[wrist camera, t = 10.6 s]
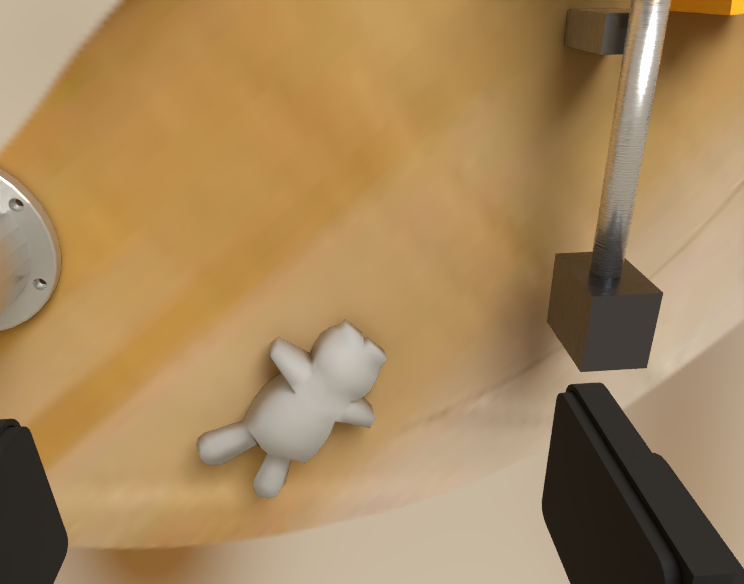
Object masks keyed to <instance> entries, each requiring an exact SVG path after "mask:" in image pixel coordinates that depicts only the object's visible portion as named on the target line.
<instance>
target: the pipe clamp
mask: <svg viewBox="0 0 744 584" xmlns="http://www.w3.org/2000/svg"><path fill="white" fill-rule="evenodd" d="M670 11H679V12H692V13H706V14H720V15H736V14H743V13H744V0H671V6H670Z"/></svg>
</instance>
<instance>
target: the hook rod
mask: <svg viewBox="0 0 744 584" xmlns="http://www.w3.org/2000/svg"><path fill="white" fill-rule="evenodd" d="M670 6H671V0H632V1H631V7H630V13H629V20H628V26H627V33H626V39H625V46H624V52H623V59H622V65H621V72H620V78H619V84H618V91H617V97H616V104H615V110H614V117H613V123H612V130H611V136H610V142H609V149H608V155H607V162H606V168H605V175H604V181H603V188H602V194H601V200H600V207H599V213H598V220H597V226H596V233H595V239H594V246H593V252H580V253H560V254H555V262H554V270H553V278H552V286H551V294H550V302H549V310H548V318H547V322H548V324H549V325H550V327H551V328H552V330H553V331H554V333H555V334H556V336H557V337H558V339H559V340H560V342H561V343H562V345H563V346H564V348H565V349H566V351H567V352H568V354H569V355H570V357H571V358H572V360H573V361H574V363H575V364H576V366H577V367H578V369H579V370H580V372H588V371H605V370H621V369H638V368H647V364H648V360H649V355H650V350H651V346H652V341H653V337H654V332H655V328H656V323H657V319H658V314H659V310H660V305H661V300H662V296H663V292H662V291H661V290H659V289H658V288H657V287H656V286H655V285H654V284H653V283H652V282H651V281H650V280H648V279H647V278H646V277H645V276H644V275H643V274H642V273H641V272H640V271H638V270H637V269H636V268H635V267H634V266H633V265H632V264H631V263H630V262H629V261H627V260H626V259H625V253H626V247H627V242H628V236H629V231H630V225H631V220H632V214H633V209H634V203H635V198H636V193H637V187H638V182H639V176H640V171H641V165H642V160H643V154H644V149H645V143H646V138H647V132H648V127H649V121H650V116H651V110H652V105H653V99H654V94H655V88H656V83H657V77H658V72H659V66H660V61H661V55H662V50H663V44H664V39H665V33H666V28H667V22H668V17H669V11H670Z"/></svg>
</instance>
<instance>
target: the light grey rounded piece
mask: <svg viewBox="0 0 744 584" xmlns="http://www.w3.org/2000/svg"><path fill="white" fill-rule="evenodd" d="M270 357H271V359H272V360H273V361H274V363H275V364H276V366H277V367H278V369H279V370H280V371H281V373H279V374H278V375H277V376H275V377H274V378H273V379H272V380H270V381H269V382H268V383H267V384H266V385H265V386H264V387H263V388H262V389H261V391H260V392H259V393H258V394H257V396H256V397H255V399H254V401H253V403H252V405H251V407H250V409H249V410H248V412H247V414H246V416H245V418H244V420H243V421H240V422H237V423H234V424H231V425H228V426H224V427H221V428H218V429H215V430H212V431H209V432H206V433H204V434H203V435H201V436H200V437H199V438H198V441H197V449H198V452H199V455H200V458H201V459H202V461H203V462H204V463H205V464H208V465H214V466H216V465H220V464H224V463H226V462H227V461H229V460H231V459H233V458H234V457H236V456H238V455H240V454H241V453H243V452H245V451H247V450H248V449H250V448H252V447H253V446H255V445H258V446H259V447H260V448H262V449H263V450H264V451H265V452H266V453H267V456H266V458H265V460H264V462H263V464H262V466H261V468H260V470H259V471H258V473H257V475H256V477H255V479H254V481H253V489H254V491H255V492H256V494H257V495H259V496H260V497H263V498H267V499H269V498H272V497H275V496H276V495H277V494H278V492H279V491H280V489H281V488H282V486H283V485H284V484H285V482H286V478H287V474H288V470H289V466H290V462H291V460H295V461H299V462H303V463H305V462H306V461H307V460H309V459H310V458H311V457H313V456H314V455H315V454H316V452H317V451H318V450H319V449H320V448H321V447H322V445H323V444H324V442H325V441H326V440H327V438H328V437H329V435H330V432H331V430H332V428H333V425H334V423H335V421H337V422H343V423H348V424H353V425H358V426H362V427H367V428H370V426H371V425H372V424H373V422H374V421H375V420H376V419H375V416H374V412H373V408H372V405H371V404H370V403H369V402H368V401H367V400H366V399H365V398H364V397H363V396H364V395H365V394H367V393H368V392H369V391H370V390H371V388H372V386H373V385H374V383H375V381H376V379H377V376H378V374H379V371H380V368H381V366H382V364H383V363H384V362H385V361H386V360H387V358H386V355H385V352H384V350H383V349H382V348H381V347H380V346H378V345H377V344H376V343H375V342H373V341H372V340H371V339H369V338H365V339H363V336H362V333H361V331H359V330H358V329H357V328H356V327H354V326H353V325H352V324H350V323H349V322H348V321H347V320H344V321H343V322H342V323H341V324H340V325H338V326H334V327H330V328H328V329H326V330H325V331H323V332H322V333H321V334H320V335H319V337H318V338H317V340H316V341H315V343H314V346H313V349H312V352H311V354H310V353H308V352H306V351H305V350H303V349H301V348H299V347H297V346H295V345H293V344H291V343H289V342H287V341H285V340H284V339H282V338H280V337H278V338H276V339H275V340H274V341H273V342H271V351H270Z"/></svg>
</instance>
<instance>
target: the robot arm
mask: <svg viewBox="0 0 744 584" xmlns="http://www.w3.org/2000/svg"><path fill="white" fill-rule="evenodd" d="M19 200H20V201H22V203H23V204H22V203H20V202H19ZM60 272H61V252H60V246H59V240H58V237H57V235H56V232H55V229H54V227H53V224H52V222H51V220H50V219H49V217H48V215H47V214H46V212H45V210H44V209H43V207H42V206H41V204H40V203H39V202H38V201H37V200H36V199H35V197H34V196H33V195H32V194H31V193H30V192H29V190H27V189H26V188H25V187H24V186H23V185H22V184H20V183H19V182H18V181H17V180H16V179H15V178H13V177H12V176H11V175H9V174H8V173H6V172H5V171H3V170H1V169H0V331H2V330H6V329H10V328H13V327H15V326H17V325H19V324H21V323H23V322H25V321H27V320H28V319H30V318H31V317H32V316H33V315H34V314H36V313H37V312H38V311H39V310H40V309H41V308H42V307H43V306H44V304H45V303H46V302H47V301H48V300H49V298H50V297H51V295H52V293H53V291H54V290H55V288H56V286H57V283H58V279H59V276H60ZM542 511H543V516H544V520H545V523H546V525H547V528H548V530H549V533H550V535H551V538H552V540H553V542H554V545H555V547H556V550H557V552H558V555H559V557H560V559H561V562H562V564H563V567H564V569H565V571H566V574H567V576H568V579H569V581H570V583H571V584H744V569H743V567H742V566H741V564H740V563H739V562H738V560H737V559H736V557H735V556H734V555H733V553H732V552H731V550H730V549H729V548H728V546H727V545H726V544H725V542H724V541H723V539H722V538H721V537H720V535H719V534H718V532H717V531H716V530H715V528H714V527H713V526H712V524H711V523H710V521H709V520H708V519H707V517H706V516H705V514H704V513H703V512H702V510H701V509H700V508H699V506H698V505H697V503H696V502H695V500H694V499H693V498H692V496H691V495H690V494H689V492H688V491H687V489H686V488H685V487H684V485H683V484H682V483H681V481H680V480H679V479H678V477H677V475H676V474H675V473H674V471H673V470H672V469H671V467H670V466H669V464H668V463H667V462H666V461H665V460H664V459H663V457H662V456H660V455H658V454H656V453H652V452H651V451H650V449H649V448H648V446H647V445H646V443H645V442H644V441H643V439H642V438H641V436H640V435H639V433H638V432H637V431H636V429H635V428H634V426H633V425H632V424H631V422H630V421H629V419H628V418H627V416H626V415H625V414H624V412H623V411H622V409H621V408H620V406H619V405H618V403H617V402H616V401H615V399H614V398H613V396H612V395H611V394H610V392H609V391H608V389H607V388H606V387H605V386H604V384H602V383H584V384H571V385H568V387H567V389H566V393H559V394H558V396H557V399H556V406H555V413H554V420H553V427H552V434H551V441H550V448H549V455H548V462H547V469H546V476H545V483H544V490H543V498H542ZM67 548H68V537H67V533H66V530H65V527H64V525H63V522H62V519H61V516H60V513H59V510H58V508H57V505H56V502H55V499H54V496H53V494H52V491H51V488H50V485H49V482H48V479H47V477H46V474H45V471H44V468H43V465H42V462H41V460H40V457H39V454H38V451H37V448H36V446H35V443H34V440H33V437H32V434H31V432H30V430H29V429H28V428H27V427H24V426H23V427H21V426H20V424H19V422H18V421H16V420H15V419H0V584H53V583H54V581H55V579H56V577H57V574H58V572H59V570H60V568H61V566H62V563H63V561H64V559H65V556H66V553H67Z"/></svg>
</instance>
